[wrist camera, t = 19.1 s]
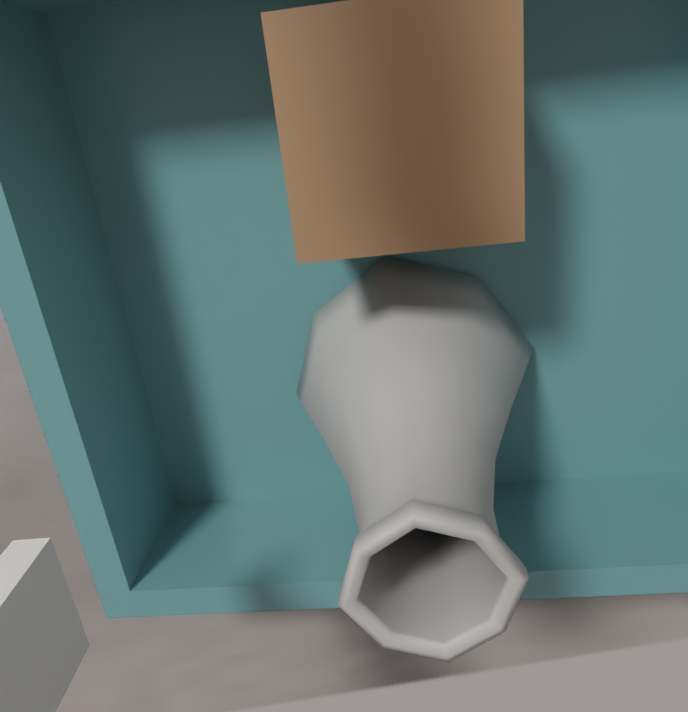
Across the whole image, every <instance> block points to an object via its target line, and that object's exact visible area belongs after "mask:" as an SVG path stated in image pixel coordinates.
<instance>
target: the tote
mask: <svg viewBox="0 0 688 712" xmlns="http://www.w3.org/2000/svg"><path fill="white" fill-rule="evenodd" d="M339 1H346V0H0V306H1V309H2V312H3V315H4V318H5V320H6V323H7V326H8V329H9V332H10V335H11V338H12V341H13V344H14V347H15V350H16V353H17V356H18V359H19V362H20V364H21V367H22V370H23V373H24V376H25V379H26V382H27V385H28V388H29V391H30V394H31V397H32V400H33V403H34V406H35V409H36V411H37V414H38V417H39V420H40V423H41V426H42V429H43V432H44V435H45V438H46V441H47V444H48V447H49V450H50V453H51V455H52V458H53V461H54V464H55V467H56V470H57V473H58V476H59V479H60V482H61V485H62V488H63V491H64V494H65V497H66V500H67V502H68V505H69V508H70V511H71V514H72V517H73V520H74V523H75V526H76V529H77V532H78V535H79V538H80V541H81V544H82V546H83V549H84V552H85V555H86V558H87V561H88V564H89V567H90V570H91V573H92V576H93V579H94V582H95V585H96V588H97V591H98V593H99V596H100V599H101V602H102V605H103V608H104V611H105V614H106V617H107V618H125V617H147V616H170V615H192V614H214V613H237V612H259V611H281V610H304V609H326V608H340V607H339V606H338V596H339V593H340V589H341V586H342V582H343V579H344V576H345V572H346V569H347V565H348V562H349V558H350V555H351V551H352V548H353V544H354V541H355V539H356V537H357V535H358V533H359V530H358V526H357V521H356V517H355V512H354V508H353V503H352V499H351V494H350V490H349V485H348V483H347V481H346V479H345V477H344V476H343V474H342V472H341V470H340V468H339V466H338V464H337V462H336V461H335V459H334V457H333V455H332V453H331V451H330V449H329V447H328V446H327V444H326V442H325V440H324V438H323V436H322V435H321V433H320V432H319V430H318V429H317V427H316V425H315V424H314V422H313V421H312V419H311V418H310V416H309V414H308V413H307V411H306V410H305V408H304V407H303V405H302V403H301V401H300V399H299V398H298V396H297V389H298V385H299V380H300V376H301V371H302V366H303V362H304V357H305V353H306V348H307V343H308V339H309V334H310V330H311V325H312V320H313V316H314V313H315V312H317V311H318V310H319V309H320V308H322V307H323V306H324V305H325V304H326V303H328V302H329V301H330V300H331V299H333V298H334V297H335V296H336V295H338V294H339V293H340V292H341V291H343V290H344V289H345V288H346V287H348V286H349V285H350V284H351V283H353V282H354V281H355V280H356V279H358V278H359V277H360V276H361V275H362V274H364V273H365V272H366V271H367V270H369V269H370V268H371V267H372V266H374V265H375V264H376V263H377V262H379V261H380V260H381V259H382V258H384V257H385V256H388V257H392V258H397V259H401V260H405V261H409V262H414V263H418V264H422V265H426V266H430V267H435V268H439V269H443V270H447V271H451V272H456V273H460V274H464V275H468V276H472V277H477V278H479V279H480V280H481V282H482V283H483V284H484V286H485V287H486V288H487V289H488V291H489V292H490V293H491V294H492V296H493V297H494V298H495V299H496V301H497V302H498V303H499V305H500V306H501V307H502V308H503V310H504V311H505V312H506V313H507V315H508V316H509V317H510V318H511V320H512V321H513V322H514V324H515V325H516V326H517V327H518V329H519V330H520V331H521V332H522V334H523V335H524V336H525V337H526V339H527V340H528V341H529V343H530V344H531V345H532V346H533V349H532V352H531V356H530V359H529V362H528V365H527V367H526V370H525V373H524V375H523V378H522V381H521V383H520V386H519V389H518V391H517V394H516V397H515V399H514V402H513V405H512V407H511V410H510V413H509V417H508V420H507V423H506V426H505V430H504V433H503V436H502V439H501V442H500V446H499V449H498V452H497V455H496V459H495V478H494V502H493V510H494V515H495V519H496V523H497V528H498V532H499V536H500V538H501V539H502V540H503V541H504V542H505V543H506V545H507V546H508V547H509V548H510V549H511V550H512V551H513V552H514V553H515V555H516V556H517V557H518V558H519V559H520V560H521V561H522V563H523V564H524V566H525V567H526V569H527V573H528V577H529V579H528V581H527V583H526V586H525V588H524V590H523V592H522V595H521V597H520V599H519V600H527V599H549V598H571V597H594V596H616V595H638V594H661V593H683V592H688V0H523V29H524V175H525V241H523V242H513V243H503V244H493V245H482V246H472V247H462V248H452V249H442V250H432V251H422V252H412V253H402V254H391V255H381V256H371V257H361V258H351V259H341V260H331V261H321V262H311V263H300V264H297V259H296V252H295V245H294V239H293V232H292V225H291V218H290V211H289V204H288V197H287V191H286V184H285V177H284V170H283V163H282V156H281V149H280V143H279V136H278V129H277V122H276V115H275V108H274V101H273V95H272V88H271V81H270V74H269V67H268V60H267V53H266V47H265V40H264V33H263V26H262V19H261V12H268V11H275V10H282V9H289V8H296V7H303V6H310V5H318V4H325V3H332V2H339Z"/></svg>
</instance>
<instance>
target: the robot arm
mask: <svg viewBox="0 0 688 712" xmlns="http://www.w3.org/2000/svg"><path fill="white" fill-rule="evenodd" d="M88 647H89V642H88V640H87V637H86V634H85V631H84V629H83V626H82V623H81V620H80V618H79V615H78V612H77V609H76V606H75V604H74V601H73V598H72V595H71V593H70V590H69V587H68V584H67V582H66V579H65V576H64V573H63V571H62V568H61V565H60V562H59V560H58V557H57V554H56V551H55V549H54V546H53V543H52V540H51V538H40V539H27V540H14V541H12V542H11V543H10V545H9V546H8V547H7V548H6V549H5V551H4V552H3V553H2V554H1V556H0V712H55V711H56V709H57V707H58V705H59V703H60V702H61V700H62V698H63V696H64V694H65V692H66V690H67V688H68V686H69V684H70V682H71V680H72V678H73V676H74V674H75V672H76V670H77V668H78V666H79V664H80V662H81V660H82V659H83V657H84V655H85V653H86V651H87V649H88Z"/></svg>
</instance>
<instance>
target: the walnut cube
mask: <svg viewBox="0 0 688 712" xmlns="http://www.w3.org/2000/svg"><path fill="white" fill-rule="evenodd" d="M261 19H262V26H263V33H264V40H265V47H266V53H267V60H268V67H269V74H270V81H271V88H272V95H273V101H274V108H275V115H276V122H277V129H278V136H279V143H280V149H281V156H282V163H283V170H284V177H285V184H286V191H287V197H288V204H289V211H290V218H291V225H292V232H293V239H294V245H295V252H296V259H297V264H300V263H311V262H321V261H331V260H341V259H351V258H361V257H371V256H381V255H391V254H402V253H412V252H422V251H432V250H442V249H452V248H462V247H472V246H482V245H493V244H503V243H513V242H523V241H525V175H524V29H523V0H346V1H339V2H332V3H325V4H318V5H310V6H303V7H296V8H289V9H282V10H275V11H268V12H261Z"/></svg>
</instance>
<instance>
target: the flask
mask: <svg viewBox="0 0 688 712" xmlns="http://www.w3.org/2000/svg"><path fill="white" fill-rule="evenodd" d="M532 349H533V346H532V345H531V344H530V343H529V341H528V340H527V339H526V337H525V336H524V335H523V334H522V332H521V331H520V330H519V329H518V327H517V326H516V325H515V324H514V322H513V321H512V320H511V318H510V317H509V316H508V315H507V313H506V312H505V311H504V310H503V308H502V307H501V306H500V305H499V303H498V302H497V301H496V299H495V298H494V297H493V296H492V294H491V293H490V292H489V291H488V289H487V288H486V287H485V286H484V284H483V283H482V282H481V280H480V279H479V278H477V277H472V276H468V275H464V274H460V273H456V272H451V271H447V270H443V269H439V268H435V267H430V266H426V265H422V264H418V263H414V262H409V261H405V260H401V259H397V258H392V257H388V256H385V257H384V258H382V259H381V260H380V261H379V262H377V263H376V264H375V265H374V266H372V267H371V268H370V269H369V270H367V271H366V272H365V273H364V274H362V275H361V276H360V277H359V278H358V279H356V280H355V281H354V282H353V283H351V284H350V285H349V286H348V287H346V288H345V289H344V290H343V291H341V292H340V293H339V294H338V295H336V296H335V297H334V298H333V299H331V300H330V301H329V302H328V303H326V304H325V305H324V306H323V307H322V308H320V309H319V310H318V311H317V312H315V313H314V316H313V320H312V325H311V330H310V334H309V339H308V343H307V348H306V353H305V357H304V362H303V366H302V371H301V376H300V380H299V385H298V389H297V396H298V398H299V399H300V401H301V403H302V405H303V407H304V408H305V410H306V411H307V413H308V414H309V416H310V418H311V419H312V421H313V422H314V424H315V425H316V427H317V429H318V430H319V432H320V433H321V435H322V436H323V438H324V440H325V442H326V444H327V446H328V447H329V449H330V451H331V453H332V455H333V457H334V459H335V461H336V462H337V464H338V466H339V468H340V470H341V472H342V474H343V476H344V477H345V479H346V481H347V483H348V485H349V490H350V494H351V499H352V503H353V508H354V512H355V517H356V521H357V526H358V530H359V533H358V535H357V537H356V539H355V541H354V544H353V548H352V551H351V555H350V558H349V562H348V565H347V569H346V572H345V576H344V579H343V582H342V586H341V589H340V593H339V596H338V606H339V607H340V608H341V609H342V610H343V611H344V612H346V613H347V614H348V615H349V616H350V617H351V618H352V619H353V620H354V621H355V622H356V623H357V624H358V625H359V626H360V627H361V628H362V629H363V630H364V631H365V632H367V633H368V634H369V635H370V636H371V637H372V638H373V639H374V640H375V641H376V642H377V643H378V644H379V645H380V646H381V647H382V648H386V649H390V650H395V651H399V652H404V653H409V654H413V655H418V656H422V657H427V658H431V659H436V660H440V661H445V662H450V661H452V660H454V659H456V658H458V657H459V656H461V655H463V654H465V653H467V652H469V651H470V650H472V649H474V648H476V647H478V646H480V645H482V644H483V643H485V642H487V641H489V640H491V639H493V638H494V637H496V636H498V635H500V634H502V633H504V632H505V631H506V629H507V627H508V624H509V622H510V620H511V618H512V615H513V613H514V611H515V608H516V606H517V604H518V602H519V599H520V597H521V595H522V592H523V590H524V588H525V586H526V583H527V581H528V579H529V577H528V573H527V569H526V567H525V566H524V564H523V563H522V561H521V560H520V559H519V558H518V557H517V556H516V555H515V553H514V552H513V551H512V550H511V549H510V548H509V547H508V546H507V545H506V543H505V542H504V541H503V540H502V539H501V538H500V536H499V532H498V528H497V523H496V519H495V515H494V510H493V502H494V478H495V459H496V455H497V452H498V449H499V446H500V442H501V439H502V436H503V433H504V430H505V426H506V423H507V420H508V417H509V413H510V410H511V407H512V405H513V402H514V399H515V397H516V394H517V391H518V389H519V386H520V383H521V381H522V378H523V375H524V373H525V370H526V367H527V365H528V362H529V359H530V356H531V352H532Z"/></svg>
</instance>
